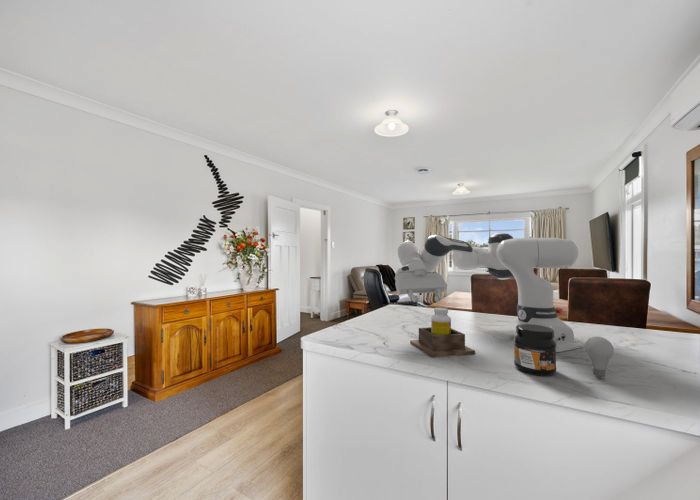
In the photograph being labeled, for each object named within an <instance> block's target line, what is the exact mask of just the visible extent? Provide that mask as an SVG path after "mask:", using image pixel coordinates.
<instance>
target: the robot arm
mask: <svg viewBox="0 0 700 500" xmlns="http://www.w3.org/2000/svg"><path fill="white" fill-rule="evenodd" d="M487 244H488V250H486V249H485V248H483V247H478V246H472V245H470V243H468V242H467V241H464V240H459V239H454V238H451V237H450V238H449V237H446V236H445V235H444V236H443V235H441V234H433V235H429V236H428V238H427V239H426V241H425V243H424V244H423V247H422V248H419V247H418V246H416V244H415V243H414V242H413V241H412V240H405V241H403V242H401V243H400V245H399V246H398V248H397V257H398V259H399V262H400V264H401V266H400V267H399V268H398V269H397V271H396V272H395V276H394V280H395V282H394V283H395V289H396V292H397V293H398V294H400V295H405V294H406V295H407V296H408V298H410V299H411V300H412V302H413V303H418V302H419V298H418V295H416V294H432V293H435V297H434V300H435V301H436V302H440V301H441V300H442V297H441V293H444V292H445V291H446V289H447V287H448V284H447V283H446V281H445V278H443V276H442V274H441V273H438V272H437V271H435V270H436V269H437V267H438V266H439V265H440V263H441V262H442V261H443V259H444V258H445V257H446V256H447V255H448V254H449V253H450V252H452V253H451V261H452V263H453V265H454V266H455V267H456V268H457V269H459V270H463V271H469V270H470V271H471V270H476V269H481V268H486V269H487V270H485V272H486V273H489V275H490V276H491V277H492V278H494V279H497V280H502V281H503V280H504V281H505V280H509V279H511V278H514V280H515V282H516V287H517V296H518V297H517V299H518V301H517V302H518V303H517V305H516V314H517V321H516V326H517V325H521V324H531V325H540V326H545V327H549V328H552V329H553V330H554V338H553V339H554V340H555V341H556V343H557V346H556V353H562V352H567V351H571V350H575V349H580V348H581V349H582V348H583V344H582V343H581V342H579V341H577V340H575V336H574V335H575V334H574V331H573V329H572V328H571V327H570V326H569V325H567V323H565V322H564V321H562V319H560V318H559V315H562V314H563V313H564V308H561V307H555V306H554V287H553V284H552V283H551V282H550V281H549V280H547V279H545V278H543V277H541V276H538V275H537V274H536V273H535V271H534V269H561V268H568V267H571V266H573V265H574V264H575V263H576V262H577V260H578V258H579V249H578V246H577V244H576V243H575V242H574V241H573V240H571V239H567V238H559V237H517V238H516V237H513V236H512V235H511V234H509V233H507V232H496V233H493V234H491V235H490V236H489V237H488V241H487ZM558 314H559V315H558ZM515 335H517V333H516V332H515V334H514V336H515ZM512 341H513V343H514V339H513V340H512Z"/></svg>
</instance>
